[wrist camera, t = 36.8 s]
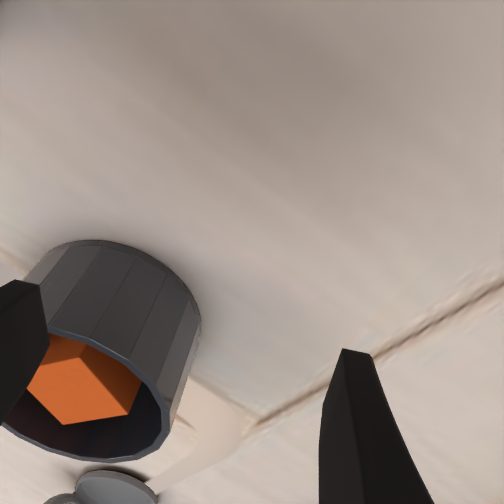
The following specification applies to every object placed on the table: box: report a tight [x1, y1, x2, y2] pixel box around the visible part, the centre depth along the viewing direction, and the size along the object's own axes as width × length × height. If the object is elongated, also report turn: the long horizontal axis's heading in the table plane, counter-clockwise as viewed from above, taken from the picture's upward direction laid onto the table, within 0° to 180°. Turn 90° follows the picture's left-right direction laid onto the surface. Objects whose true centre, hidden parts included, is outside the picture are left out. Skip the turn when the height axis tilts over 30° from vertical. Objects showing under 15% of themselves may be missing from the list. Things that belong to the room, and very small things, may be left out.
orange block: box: [27, 333, 142, 425], centre depth 24 cm, size 4×4×5 cm
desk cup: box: [1, 240, 201, 463], centre depth 24 cm, size 10×10×6 cm
